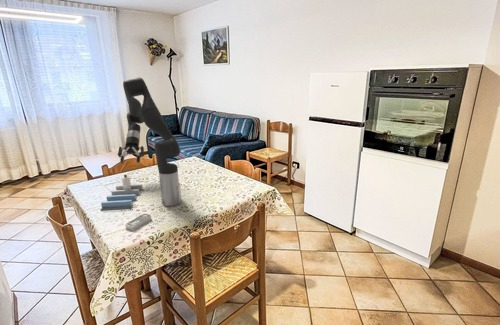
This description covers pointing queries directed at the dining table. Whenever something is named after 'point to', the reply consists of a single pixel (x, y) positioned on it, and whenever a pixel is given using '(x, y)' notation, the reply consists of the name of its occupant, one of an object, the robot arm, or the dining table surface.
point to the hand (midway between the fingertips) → (130, 162)
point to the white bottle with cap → (126, 182)
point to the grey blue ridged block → (121, 198)
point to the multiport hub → (138, 222)
